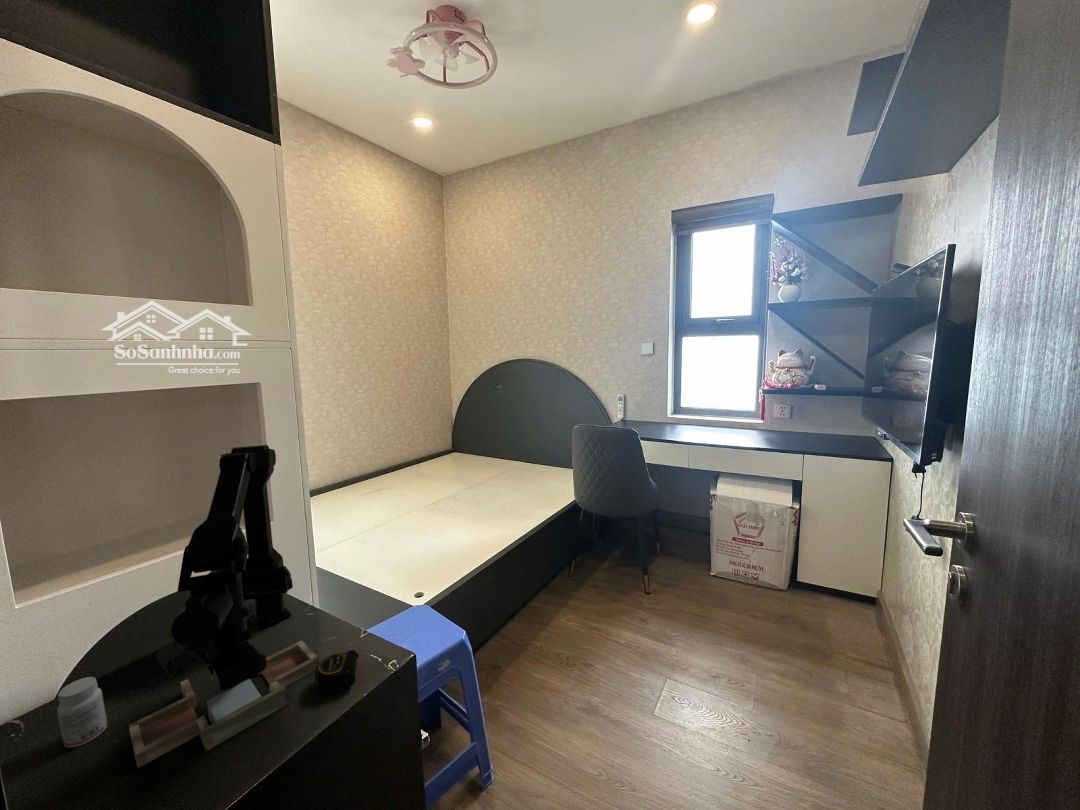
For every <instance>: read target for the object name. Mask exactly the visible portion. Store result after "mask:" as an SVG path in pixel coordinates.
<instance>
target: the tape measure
mask: <svg viewBox="0 0 1080 810" xmlns="http://www.w3.org/2000/svg"><path fill="white" fill-rule="evenodd" d="M359 655H360V653H359V652H358V653H357V651H356V650H355V649H352V650H348V651H347V652H336V653H332V654H331V655H328V656H326V657H324V658H323V659H322V660H321V661H319V665H318V666H317V669H316V670H315V671H314V682H315V686H316V688H317V690H318V691H321V692H322V693H334V692H337V691H340V690H342V689H345V688H349V687H352V686H353V685H354V684H355V682H356V669H357V662H358V661H357V660H358V659H359Z"/></svg>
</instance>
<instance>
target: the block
mask: <svg viewBox="0 0 1080 810" xmlns="http://www.w3.org/2000/svg"><path fill="white" fill-rule="evenodd" d="M261 697H262V695H261V694H260V692H259V691H258V689H257V688H256V686H255V684H254V682H253V681H252V680H251V678H247V679H245V680H243V681H241V683H240V684H238V685H236V686H234V687H232V688H230V689H229V690H228V689H226V690H225V691H223V692H221V693H218V694H217V695H215V696H213V697H211V698H209V699H207V700H206V706H207V707H206V708H207V715H208V720H209V721H210V722H209V723H210V725H212V724H214V723H216V722H217V721H219V720H221V719H223V718H225V717H227V716H228V715H230V714H232V713H234V712H236V711H237V710H239V709H241V708H243V707H245V706H247V705H248V704H250V703H252V702H254V701H256V700H258V699H259V698H261Z"/></svg>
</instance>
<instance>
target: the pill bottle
mask: <svg viewBox="0 0 1080 810" xmlns="http://www.w3.org/2000/svg"><path fill="white" fill-rule="evenodd" d="M102 691H103V690H102V689H101V688H100V687H98V681H97V679H96V677H94V676H87V677H82V678H80V679H77V680H74V681H73V682H70V683H69V684H67V685H66V686H64V687H63V688H62V689H61V690H59V692H58V694H57V695H58V703H59V705H58V707H57V712H56V713H57V716H58V717H57V718H58V722H59V727H60V733H61V738H62V743H63V745H64V747H65V748H76V747H80V746H83V745H86V744H87V743H89V742H91V741H93V740H94V739H96V738H97V737H99V736H100V735H101V734H102V733H103V732H104V731H105V730H106V729H107V727H108V719H107V713H106V707H105V703H104V697H103V692H102Z"/></svg>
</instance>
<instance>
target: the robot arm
mask: <svg viewBox="0 0 1080 810" xmlns="http://www.w3.org/2000/svg"><path fill="white" fill-rule="evenodd" d="M276 456H277V454H276V451H275V449H272V448H270V447H269V444H263V445H262V444H261V445H250V446H249V445H248V446H237V447H232V449H231V451H230V452H227V453H221V455H220V458H219V467H218V468H219V471H220V472H219V475H218V478H217V482H216V485H215V489H214V492H213V496H212V500H211V503H210V507H209V511H208V514H207V517H206V519H205V520H204V521H203V522H202V523H201V524H200V525H198V526H197V527H196V528H195V529H194V530H193V533H192V534H191V537H190V539H189V542H188V544H187V545H186V546H185V548H184V550H183V554H182V561H181V566H180V574H179V580H178V586H177V592H178V593H182V592H183V593H184V592H190V596H189V597H188V598H187V599H186V601H184V602H185V603H184V607H183V609H182V610H180V612H179V613H178V615H177V616H176V617H175V619H174V620H173V622H172V625H171V628H170V634H171V636H172V639H173V641H171V642H170V643H168V644H167V645H165V646H164V647H162V648H161V649H160V650H159V651H158V653H156V657H157V660H158V663H159V665H160V666H161V667H162V668H163V670H164V671H165V672H166V674H167V676H169V677H171V679H176V678H178V677H180V676H181V675H184V674H185V673H187V672H188V671H189V670H191V669H192V668H193V667H195V666H196V665H197V664H198V663H199V662H200V660H201V659H203V661H204V662H205V664H207V665H208V667H207V668H208V670H209V672H210V675H212V676H213V677H214V680H215V683H216V685H217V687H218V689H219V690H220V691H221V690H229V689H230V688H232V687H234V686H236V685H238V684H240V683H242V682H244V681H246V680H248V679H250V678H251V677H253V676H256V675H258V674H257V673H259V672H261V671H263V670H264V669H265V668H266V667H267V663H266V658H267V656H266V654H265V653H264V652H263V651H262V649H261V648H260V646H257V645H254V644H250V642H249V641H248V640H250V639H252V632H251V631H250V629H249V628H248V625H247V617H248V616H249V620H250V621H251V623H252V624H253V623H254V624H253V625H254V626H255V628H258V629H260V630H263V629H265V628H267V627H269V626H271V624H272V625H273V624H276V623H278V621H279V622H281V621H282V620H285V619H287V618H290V617H291V616H292V613H291V612H290V610H288V609H287V607H286V606H285V598H284V597H285V596H284V594H287V593H288V591H290V590H291V589H293V579H292V574H291V572H290V570H289V569H288V568H287V566H286V565H285V564H284V559H283V556H282V554H281V553H279V552H278V551H277V550H276V548H274V547H273V546H274V544H273V534H272V525H271V514H270V504H269V496H268V485H267V484H268V482H269V480H270V478H272V475H273V473H274V471H275V466H276V463H277V457H276ZM242 515H243V519H244V528H245V534H244V532H243V530H242V528H241V527H240V526H241V525H240V524H241V519H242ZM207 572H208V573H207ZM193 573H194V574H199V573H207V574H201V575H196V576H192V574H193ZM249 600H252V603H253V613H254V614H253V615H251V616H250V613H249V609H248V608H247V606H246V605H245V602H247V601H249ZM264 627H265V628H264ZM262 628H263V629H262ZM258 629H257V630H258Z"/></svg>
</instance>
